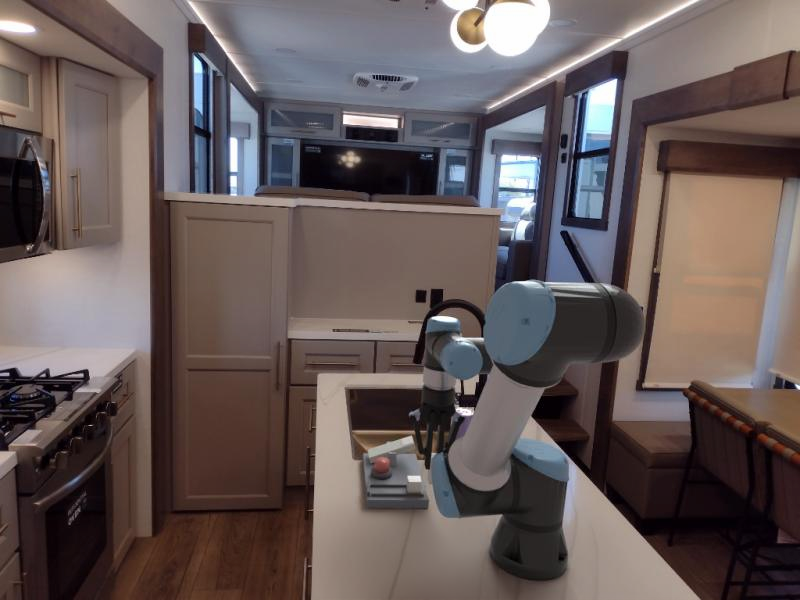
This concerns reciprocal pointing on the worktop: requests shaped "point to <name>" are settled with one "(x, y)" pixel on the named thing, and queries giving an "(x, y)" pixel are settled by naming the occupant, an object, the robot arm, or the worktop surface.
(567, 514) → the worktop surface
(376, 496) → the console
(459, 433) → the beverage can
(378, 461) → the button
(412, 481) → the slider knob
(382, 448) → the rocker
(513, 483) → the robot arm
